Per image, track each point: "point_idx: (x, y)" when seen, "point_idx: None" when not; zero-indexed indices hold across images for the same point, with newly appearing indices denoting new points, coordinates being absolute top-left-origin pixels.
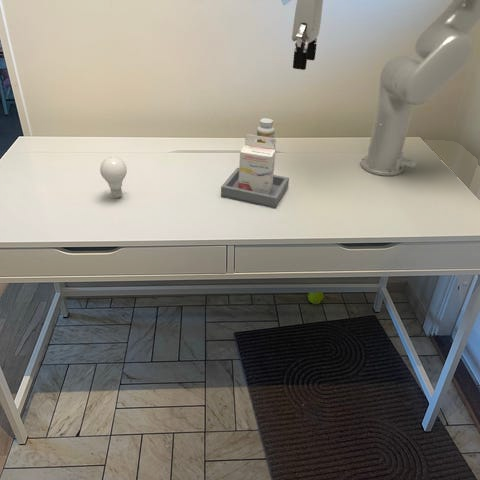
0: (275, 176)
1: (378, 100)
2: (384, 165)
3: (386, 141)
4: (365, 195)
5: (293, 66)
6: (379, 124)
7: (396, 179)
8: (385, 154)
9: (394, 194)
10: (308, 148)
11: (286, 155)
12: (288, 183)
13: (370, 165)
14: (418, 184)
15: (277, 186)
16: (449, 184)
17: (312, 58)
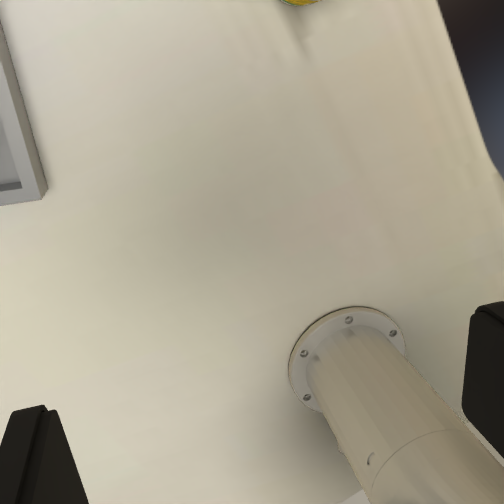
0: (15, 150)
1: (462, 477)
2: (312, 391)
3: (340, 438)
4: (153, 386)
5: (11, 426)
6: (374, 446)
7: (288, 410)
8: (324, 412)
9: (202, 433)
10: (380, 127)
11: (288, 76)
12: (44, 193)
13: (316, 349)
14: (287, 453)
15: (13, 160)
16: (321, 496)
17: (471, 412)
